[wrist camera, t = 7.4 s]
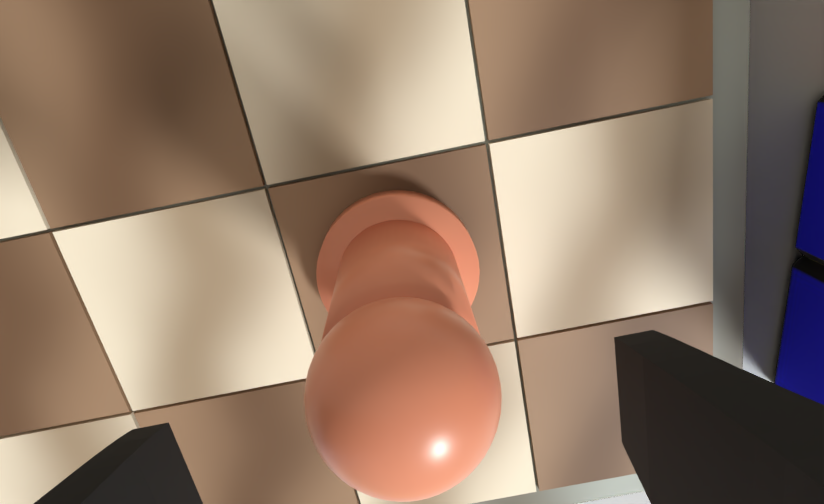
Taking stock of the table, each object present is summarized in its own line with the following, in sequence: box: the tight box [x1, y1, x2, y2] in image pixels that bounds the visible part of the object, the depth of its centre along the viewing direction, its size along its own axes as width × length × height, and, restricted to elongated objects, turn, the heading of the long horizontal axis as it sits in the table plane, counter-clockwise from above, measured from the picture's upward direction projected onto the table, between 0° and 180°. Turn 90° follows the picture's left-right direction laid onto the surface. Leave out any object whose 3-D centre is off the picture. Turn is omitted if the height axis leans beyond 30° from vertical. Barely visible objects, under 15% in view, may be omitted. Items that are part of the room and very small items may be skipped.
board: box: [0, 0, 750, 504], centre depth 16 cm, size 26×20×1 cm
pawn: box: [304, 190, 502, 502], centre depth 11 cm, size 4×4×8 cm
